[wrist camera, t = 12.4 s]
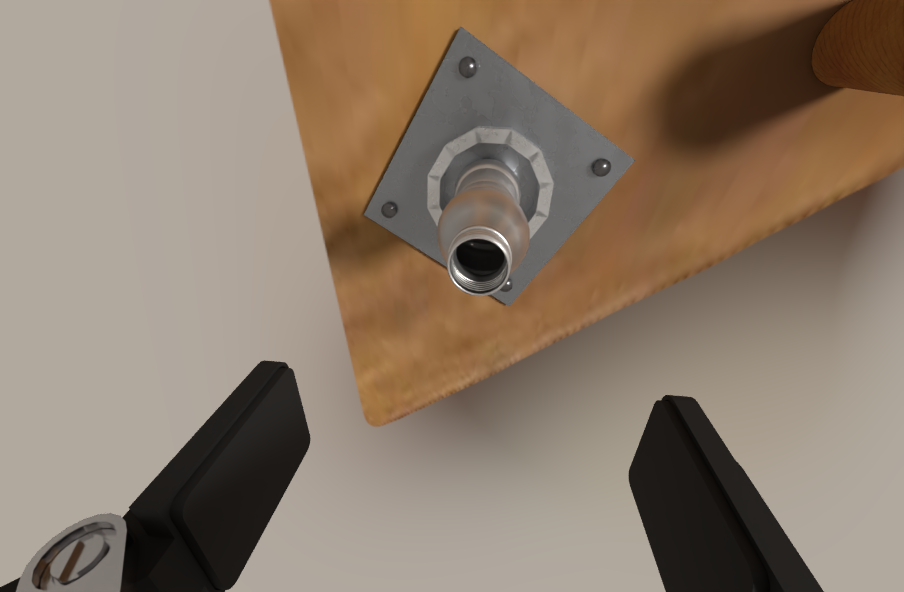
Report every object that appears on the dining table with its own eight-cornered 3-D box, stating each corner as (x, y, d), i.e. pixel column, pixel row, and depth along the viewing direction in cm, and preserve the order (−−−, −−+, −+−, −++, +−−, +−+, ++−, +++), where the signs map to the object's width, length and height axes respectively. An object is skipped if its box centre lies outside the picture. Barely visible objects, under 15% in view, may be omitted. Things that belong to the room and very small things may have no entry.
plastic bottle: (506, 143, 35) (512, 186, 18) (528, 207, 38) (553, 298, 21) (446, 171, 37) (399, 234, 20) (472, 230, 40) (451, 331, 22)
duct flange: (365, 213, 41) (354, 222, 38) (461, 27, 32) (457, 19, 29) (509, 303, 44) (509, 319, 41) (633, 159, 35) (646, 165, 32)
